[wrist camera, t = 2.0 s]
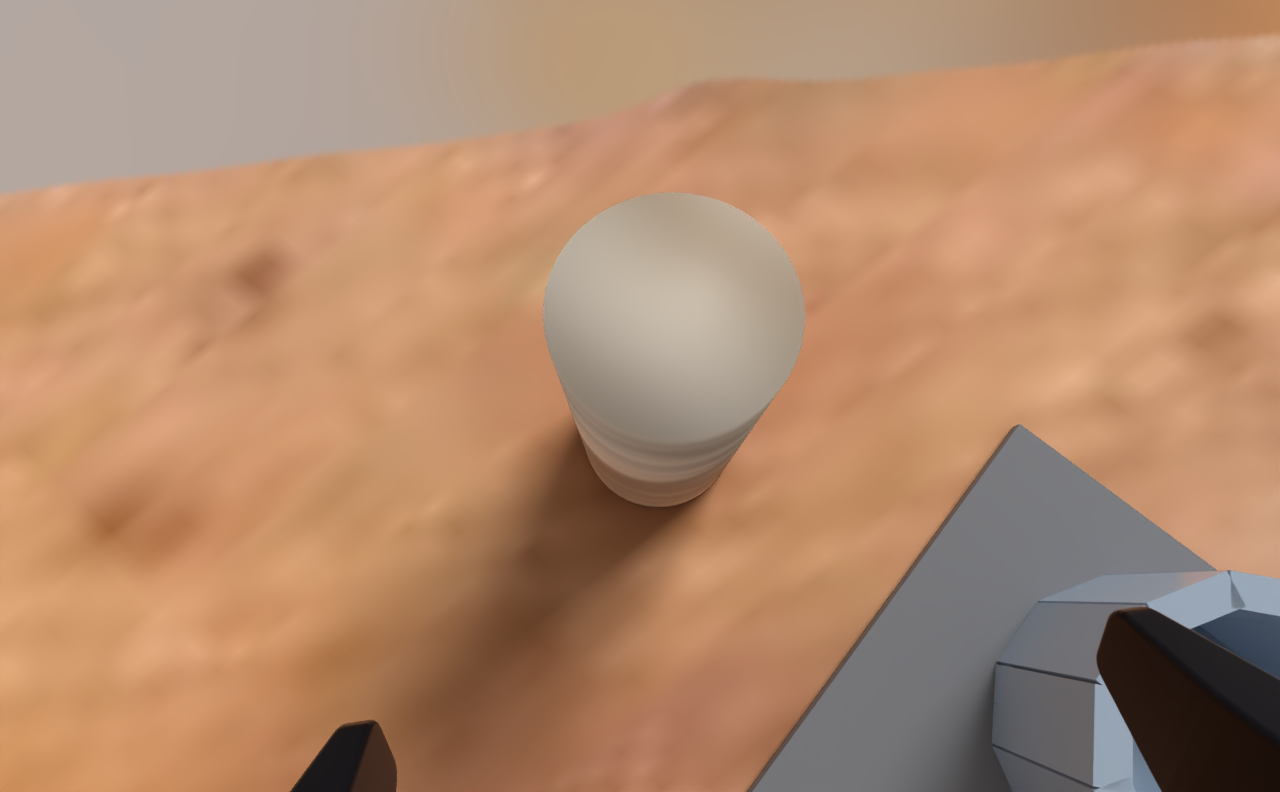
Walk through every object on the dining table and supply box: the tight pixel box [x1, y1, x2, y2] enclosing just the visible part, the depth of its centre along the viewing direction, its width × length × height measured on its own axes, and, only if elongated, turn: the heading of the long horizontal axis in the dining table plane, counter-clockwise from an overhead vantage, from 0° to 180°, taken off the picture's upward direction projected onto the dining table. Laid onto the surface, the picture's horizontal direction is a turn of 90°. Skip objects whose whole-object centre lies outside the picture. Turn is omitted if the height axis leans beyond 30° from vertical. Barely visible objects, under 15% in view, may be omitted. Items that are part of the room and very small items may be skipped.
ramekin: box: [992, 570, 1280, 792], centre depth 17 cm, size 8×8×4 cm
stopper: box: [543, 193, 805, 507], centre depth 17 cm, size 4×4×10 cm
